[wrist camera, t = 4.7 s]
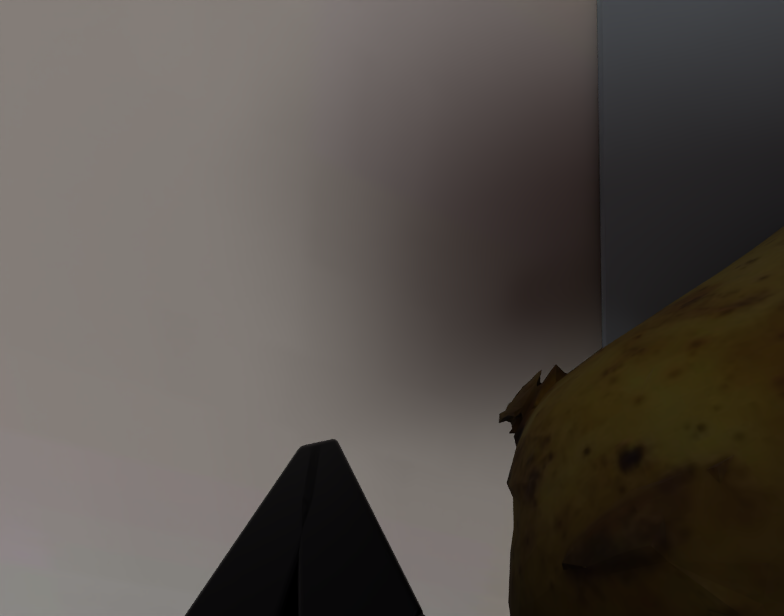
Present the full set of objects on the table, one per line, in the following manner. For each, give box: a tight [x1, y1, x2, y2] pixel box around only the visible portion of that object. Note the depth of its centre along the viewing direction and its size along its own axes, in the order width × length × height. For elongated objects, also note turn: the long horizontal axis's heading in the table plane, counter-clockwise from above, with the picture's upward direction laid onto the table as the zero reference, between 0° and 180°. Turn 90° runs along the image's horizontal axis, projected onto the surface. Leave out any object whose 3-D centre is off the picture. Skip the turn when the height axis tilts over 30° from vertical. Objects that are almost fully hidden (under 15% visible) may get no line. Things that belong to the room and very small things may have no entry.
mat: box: [597, 0, 784, 348], centre depth 10 cm, size 11×5×1 cm, turn 11°
